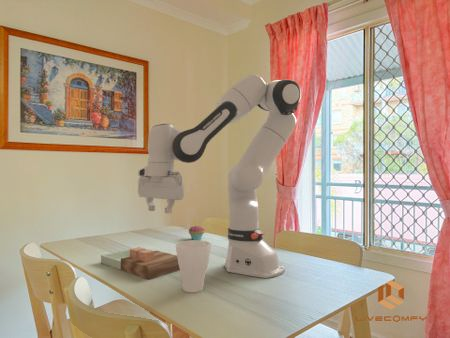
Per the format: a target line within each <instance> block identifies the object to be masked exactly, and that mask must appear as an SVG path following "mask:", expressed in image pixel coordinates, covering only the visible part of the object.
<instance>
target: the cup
mask: <svg viewBox="0 0 450 338" xmlns="http://www.w3.org/2000/svg"><path fill="white" fill-rule="evenodd" d="M175 248H176V250H175V252H176V255H177V258H178V264H179V268H180V270H179V271H180V277H181V281H182V282H181V283H182V290H183V292H186V293H191V294H193V293H195V294H196V293H199V292H202V291H203V289H204V284H205V283H204V282H205V277H206V273H207V270H208V266H209V262H210V261H209V260H210V255H211V251H212V250H211V249H212V243H211V242H210V241H207V240H192V239H189V240H181V241H179V242H177V243H175Z"/></svg>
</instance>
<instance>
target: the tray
mask: <svg viewBox="0 0 450 338" xmlns="http://www.w3.org/2000/svg"><path fill="white" fill-rule="evenodd" d="M130 249H131V248H128V249H125V250H120V251H115V252H110V253H107V254H106V253H105V254H101V255H100V264H102V265H106V266H108V267H111V268H113V269H118V270H120V271H122V270H121V258H126V257H130Z"/></svg>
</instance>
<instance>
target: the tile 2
mask: <svg viewBox="0 0 450 338" xmlns="http://www.w3.org/2000/svg"><path fill="white" fill-rule="evenodd" d="M145 249H146V250H142V251H138V260H140V261H144V262H147V261H151V260H154V256H155V251H156V250H152V249H147V248H145Z"/></svg>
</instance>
